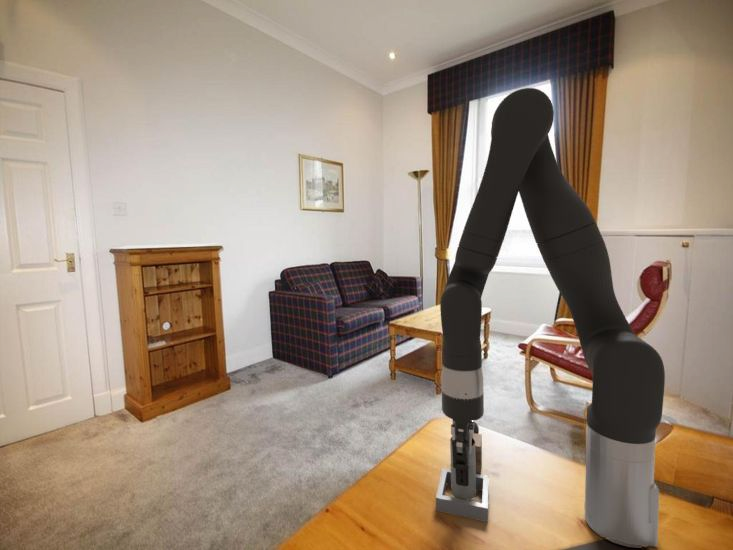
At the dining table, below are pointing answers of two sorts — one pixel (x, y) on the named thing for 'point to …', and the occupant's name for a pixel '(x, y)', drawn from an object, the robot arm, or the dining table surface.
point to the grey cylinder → (469, 490)
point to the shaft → (476, 428)
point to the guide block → (478, 452)
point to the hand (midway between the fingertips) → (463, 475)
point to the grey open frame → (460, 505)
